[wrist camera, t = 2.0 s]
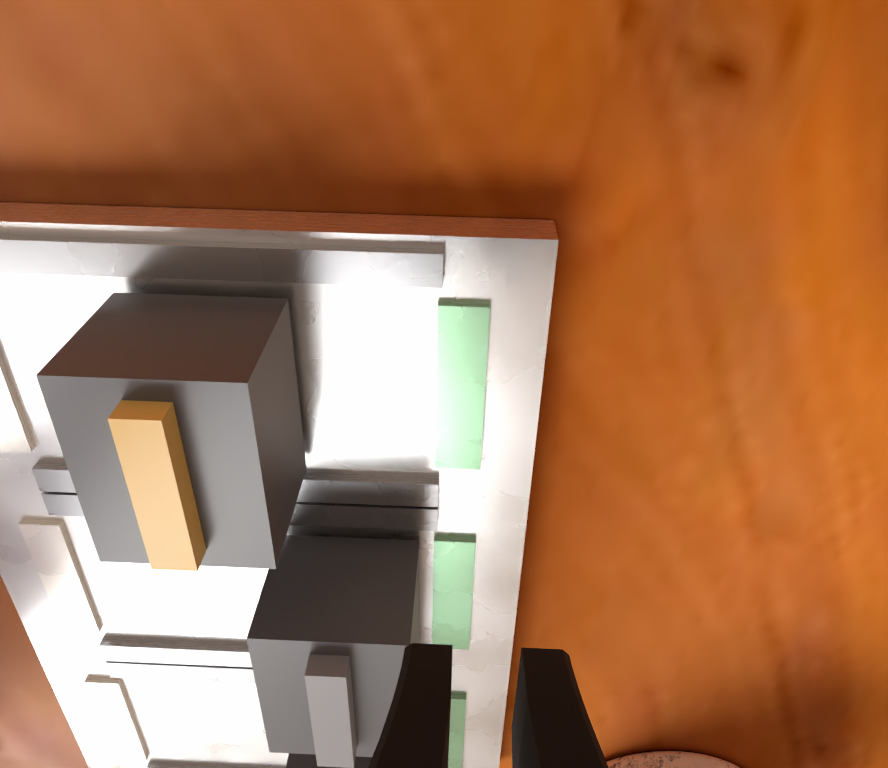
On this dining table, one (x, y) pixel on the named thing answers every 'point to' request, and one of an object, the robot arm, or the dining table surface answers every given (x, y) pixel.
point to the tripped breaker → (181, 428)
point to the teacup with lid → (669, 760)
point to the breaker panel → (325, 442)
